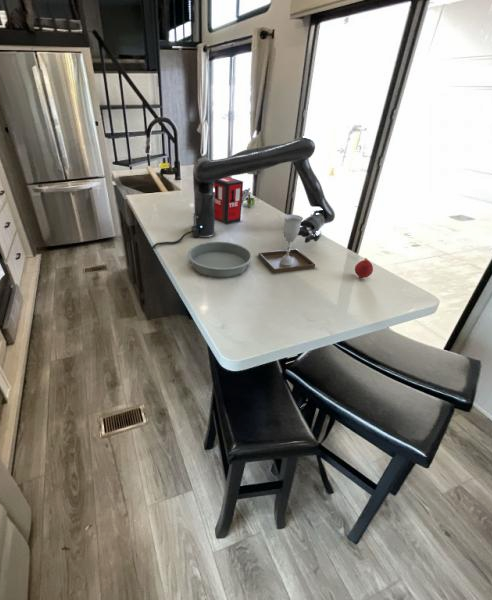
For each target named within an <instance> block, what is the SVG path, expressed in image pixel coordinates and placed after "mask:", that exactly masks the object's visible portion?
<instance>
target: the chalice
mask: <svg viewBox="0 0 492 600" xmlns="http://www.w3.org/2000/svg"><path fill="white" fill-rule="evenodd" d="M283 219H284V223H283V229H282V230H283V236H284V235H285V236H284V238H285V241H286V242H287V245H286V248H287V249H285V250H286V253H287V254H286V255H285V256H283V257H282V259H281V260H280V263H281V264H283V265H291V264H293V262H292V258H291V257H290V256H289V252H290V249H291V247H292V246H291V243H293V242H294V241H295V240H296V238H297V237H298V236H299V235H298V233H299V231H300V225H301V222H302V221H303V220H304V218H303V217H302V216H301V215H297V214H285V215H284V216H283Z"/></svg>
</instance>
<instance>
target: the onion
mask: <svg viewBox="0 0 492 600" xmlns="http://www.w3.org/2000/svg"><path fill="white" fill-rule="evenodd" d="M354 271H355V275H357V277H358V278H359V279H361V280H362V279H366V278H368V277H370V276H371V275H372V274H373V272H374V266H373V264H372V263H371V261H370V260H369V259H368V258H367V257H365V258H364V259H363V260H360V261H359V262H357V264H356V265H355V267H354Z"/></svg>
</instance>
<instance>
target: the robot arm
mask: <svg viewBox="0 0 492 600" xmlns="http://www.w3.org/2000/svg"><path fill="white" fill-rule="evenodd" d="M315 150H316V145H315V142H314V140H313V139H312V138H309V137H306V136H301V137H297V138H294V139H293V140H290V141H288V142H284V143H280V144H272V145H263V146H256V147H251V148H247V149H243V150H241V151H239V152H237V153H235V154H232V155H230V156H228V157H225V158H218V159H210V158H208V157H205V156H204V157H203V156H202V157H199V158H198V159H197V160H196V161H195V162H194V164H193V169H192V178H193V181H192V182H193V193H194V194H193V197H194V198H193V199H194V200H193V201H194V212H193V213H192V214H193V217H192V218H193V225H191V226H190V230H189V231H187V232H185V233H184V234H182V236H181V237H180V238H178V239H177V240H175V241H161V242H156V243H155V244H153V246H152V247H151V250H154V249H155V248H156V247H157V246H159V245H175V244H178V243H180V242H181V241H182V240H183V239H184V238H185V237H186V236H187V235H190V234H191V233H192V235H193V237H195V238H203V239H205V238H213V237H214V236H215V220H216V219H215V189H214V181H216V180H219V179H222V178H225V177H232V176H239V175H245V174H249V173H250V174H251V173H254V172H258V171H263V170H266V169H269V168H272V167H276V166H279V165H281V164H284V163H292V165H293V166H294V168H295V170H296V172H297V174H298V177H299V179H300V181H301V183H302V186H303V189H304V192H305V194H306V197H307V201H308V204H309V206H310V207H312V208H316V207H317V208H320V209H316V210H314V211H312V212H311V213H310V216H307V217H306V218H304V219H303V220H302V221H301V225H300V231H299V233H298V235H297V236H299V237H302V238H305V239H304V243H305V244H308V243H310V242H311V241H314V242H318V240H319V239H320V238H321V235H322V230H320V229H322V228H323V227H324V225H325V224H330V223H333V221H334V220H335V217H336V213H335V211H334V208H333V207H332V205H331V204H330V203H329V201H328V200H327V198H326V196H325V193H324V190H323V187H322V184H321V182H320V180H319V179H318V177H317V175H316V174H315V172H314V171H313V168H312V166H311V164H310V160H309V159H310V158H311V157H312V156H313V155H314V153H315ZM283 237H285V235H284V234H283Z"/></svg>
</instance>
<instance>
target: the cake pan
mask: <svg viewBox="0 0 492 600" xmlns="http://www.w3.org/2000/svg"><path fill="white" fill-rule="evenodd" d="M187 256H188V257H187V258H188V260H189V261H190V262H191V264H192V267H193V269H194V270H195V271H197V272H198V273H200V274H202V275H205V276H208V277H213V278H214V277H215V278H228V277H234V276H237V275H240V274H241V273H243V272H245V271H246V269H247V267H248V264H250V262H251V261H252V259H253V254H252V252H251V251H250V250H249V249H248V248H247V247H245V246H243V245H241V244H238V243H234V242H229V241H228V242H227V241H208V242H203V243H200V244H199V243H198V244H197V245H195V246H193V247H191V248H190V250H189V251H188V253H187Z"/></svg>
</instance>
